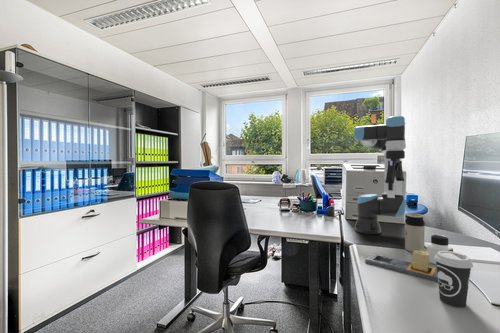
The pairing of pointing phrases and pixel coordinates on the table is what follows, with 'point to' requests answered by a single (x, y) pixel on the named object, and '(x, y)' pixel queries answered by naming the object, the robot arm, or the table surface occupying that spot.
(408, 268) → the rail
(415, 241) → the travel mug
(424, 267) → the nut block
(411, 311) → the table surface
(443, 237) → the medicine bottle
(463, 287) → the coffee cup
